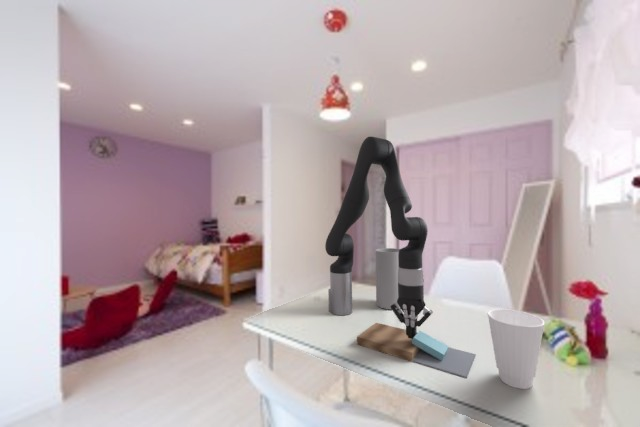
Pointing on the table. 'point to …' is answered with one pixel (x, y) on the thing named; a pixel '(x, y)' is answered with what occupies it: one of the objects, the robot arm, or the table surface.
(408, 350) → the block
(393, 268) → the cylinder vase
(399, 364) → the table surface
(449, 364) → the mat
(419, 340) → the tile
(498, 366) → the cup
